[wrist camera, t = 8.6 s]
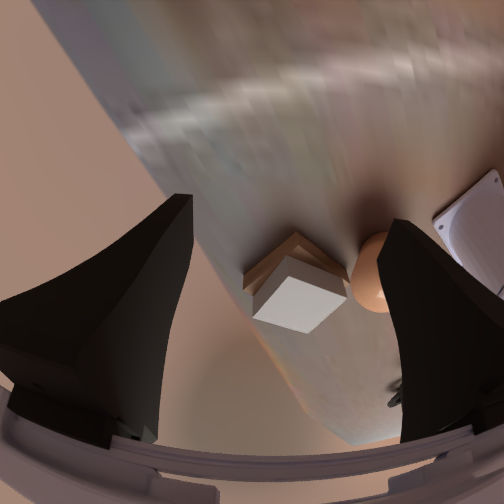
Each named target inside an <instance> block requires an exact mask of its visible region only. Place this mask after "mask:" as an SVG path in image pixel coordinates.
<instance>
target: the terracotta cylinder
mask: <svg viewBox="0 0 504 504" xmlns="http://www.w3.org/2000/svg"><path fill="white" fill-rule="evenodd" d="M388 233H389V232H379V233H377V234H374V235H373V236H371V237H370V238H368V239H367V240H366V241H365V242H364V244H363V245H362V247H361V250H360V253H359V255H358V258H357V261H356V264H355V267H354V270H353V273H352V276H351V290H352V293H353V295H354V297H355V299H356V300H357V301H358V302H359V303H360V304H361V305H362V306H363V307H365V308H366V309H368V310H371V311H374V312H382V313H383V312H389V308H388V305H387V302H386V299H385V296H384V292H383V289H382V286H381V282H380V277H379V273H378V267H377V261H376V260H377V257H378V255H379V253H380V251H381V249H382V246H383V244H384V242H385V240H386V237H387V235H388Z"/></svg>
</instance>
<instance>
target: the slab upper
mask: <svg viewBox="0 0 504 504" xmlns="http://www.w3.org/2000/svg"><path fill="white" fill-rule="evenodd" d="M346 299H347V294H346V290H345V287H344V283H343V279H342V278H341V277H339V276H336V275H334V274H332V273H329V272H327V271H324V270H322V269H319V268H317V267H315V266H312V265H310V264H307V263H305V262H302V261H300V260H297V259H295V258H293V257H290V256H288V255H286V256H285V257H284V259H283V260H282V261H281V262H280V264H279V265H278V266H277V267H276V269H275V270H274V271H273V273H272V274H271V275H270V276H269V278H268V279H267V280H266V281H265V283H264V284H263V285H262V286H261V288H260V289H259V290H258V291H257V293H256V294H255V295H254V296H253V318H255V319H259V320H262V321H265V322H269V323H272V324H275V325H279V326H282V327H286V328H289V329H293V330H296V331H300V332H303V333H307V334H308V333H309V332H310V331H312V330H313V329H314V328H315V327H316V326H317V325H318V324H320V323H321V322H322V321H323V320H324V319H325V318H326V317H327V316H329V315H330V314H331V313H332V312H333V311H334V310H335V309H336V308H337V307H338V306H339V305H341V304H342V303H343V302H344V301H345V300H346Z"/></svg>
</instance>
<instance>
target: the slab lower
mask: <svg viewBox="0 0 504 504" xmlns="http://www.w3.org/2000/svg"><path fill="white" fill-rule="evenodd" d="M286 255H288V256H290V257H293V258H295V259H297V260H300V261H302V262H305V263H307V264H310V265H312V266H315V267H317V268H319V269H322V270H324V271H327V272H329V273H332V274H334V275H336V276H339V277H341V278H342V279H343V283H344V287H347V286H348V285H350V281H349V278H348V274H347V271H346V270H345V269H344V268H343V267H342V266H340V265H339V264H338V263H336V262H335V261H334V260H333V259H331V258H330V257H329V256H328V255H326V254H325V253H324V252H323V251H321V250H320V249H319V248H317V247H316V246H315V245H314V244H312V243H311V242H310V241H308V240H307V239H306V238H304V237H303V236H302V235H301V234H299V233H298V232H297V231H296V232H295V233H294V234H292V235H291V236H290V237H289V238H288V239H286V240H285V241H284V242H283V243H282V244H281V245H279V246H278V247H277V248H276V249H275V250H273V251H272V252H271V253H270V254H269V255H268V256H266V257H265V258H264V259H263V260H262V261H260V262H259V263H258V264H257V265H256V266H255V267H253V268H252V269H251V270H250V271H249V272H247V273H246V274H245V275H244V279H243V291H245V292H247V293H248V294H250V295H252V296H254V295H255V294H256V293H257V291H258V290H259V289H260V288H261V286H262V285H263V284H264V283H265V281H266V280H267V279H268V278H269V276H270V275H271V274H272V273H273V271H274V270H275V269H276V267H277V266H278V265H279V264H280V262H281V261H282V260H283V259H284V257H285V256H286Z"/></svg>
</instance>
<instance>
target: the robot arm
mask: <svg viewBox="0 0 504 504" xmlns="http://www.w3.org/2000/svg"><path fill="white" fill-rule="evenodd" d="M495 178H496V179H495ZM440 225H441V226H440ZM433 226H434V227H435V229H436V230H437V232H438V233H439V235H440V236H441V238H442V240H443V241H444V243H445V245H446V246H447V248H448V249H449V251H450V253H451V254H452V256H453V258H454V259H453V258H452V257H451V256H450V255H449V254H448V253H447V252H446V251H444V250H443V249H442V248H441V247H440V246H439V245H438V244H437V243H436V242H435V241H433V240H432V239H431V238H430V237H429V236H428V235H427V234H425V233H424V232H423V231H422V230H421V229H419V228H418V227H417V226H415V225H414V224H413V223H411V222H410V221H408V220H402V219H396V218H395V219H394V221H393V223H392V226H391V228H390V231H389V233H388V235H387V237H386V240H385V242H384V244H383V246H382V249H381V251H380V253H379V255H378V257H377V260H376V261H377V267H378V273H379V277H380V282H381V286H382V289H383V292H384V296H385V299H386V302H387V305H388V308H389V312H390V315H391V318H392V322H393V325H394V328H395V332H396V336H397V340H398V346H399V352H400V360H401V369H402V382H403V417H402V430H401V439H400V444H396V445H391V446H386V447H380V448H374V449H367V450H360V451H352V452H344V453H333V454H320V455H302V456H251V455H232V454H220V453H209V452H201V451H192V450H185V449H178V448H172V447H166V446H161V445H155V444H152V443H154V442H155V441H156V440H157V439H158V420H159V406H160V396H161V387H162V378H163V371H164V364H165V356H166V351H167V344H168V339H169V333H170V328H171V324H172V320H173V317H174V314H175V310H176V307H177V304H178V301H179V297H180V294H181V291H182V288H183V285H184V281H185V278H186V275H187V272H188V269H189V265H190V260H191V254H192V249H193V244H194V236H193V195H190V194H174V195H172V196H171V197H170V198H169V199H168V200H166V201H165V202H164V203H163V204H162V205H160V206H159V207H158V208H157V209H156V210H155V211H153V212H152V213H151V214H150V215H149V216H147V217H146V218H145V219H144V220H143V221H141V222H140V223H139V224H138V225H136V226H135V227H134V228H132V229H131V230H130V231H128V232H127V233H126V234H125V235H123V236H122V237H121V238H120V239H118V240H117V241H115V242H114V243H113V244H111V245H110V246H108V247H107V248H106V249H104V250H102V251H101V252H99V253H98V254H96V255H95V256H93V257H92V258H90V259H88V260H86V261H84V262H83V263H81V264H79V265H78V266H76V267H74V268H73V269H71V270H69V271H67V272H65V273H64V274H62V275H60V276H58V277H56V278H54V279H52V280H50V281H48V282H46V283H43V284H41V285H39V286H37V287H35V288H33V289H30V290H28V291H26V292H23V293H21V294H18V295H16V296H13V297H11V298H8V299H6V300H3V301H1V302H0V371H1V372H2V373H3V374H4V375H5V376H7V377H8V378H9V379H10V380H11V381H12V382H13V383H14V388H13V390H12V392H10V391H9V390H7V389H5V388H4V387H2V386H1V385H0V480H2V481H3V482H4V483H5V484H7V485H8V486H10V487H11V488H12V489H14V490H15V491H17V492H18V493H19V494H21V495H22V496H24V497H25V498H27V499H28V500H30V501H31V502H33V503H35V504H220V503H219V501H220V491H219V490H218V489H217V488H216V487H215V486H212V485H204V484H198V483H191V482H186V481H181V480H175V479H170V478H165V477H162V476H161V474H160V473H158V472H157V471H159V472H164V473H170V474H176V475H182V476H189V477H196V478H205V479H216V480H227V481H244V482H294V481H311V480H322V479H333V478H341V477H349V476H355V475H362V474H368V473H373V472H379V471H384V470H388V469H393V468H397V467H401V466H405V465H409V464H413V463H417V462H420V461H424V460H427V459H431V458H434V457H436V459H435V460H434V462H433V463H430V464H427V465H424V466H422V467H420V468H417V469H415V470H412V471H410V472H407V473H404V474H400V475H397V476H394V477H391V478H389V479H388V486H389V491H388V492H387V493H383V494H379V495H374V496H369V497H364V498H358V499H353V500H346V501H340V502H332V503H325V504H504V188H503V185H502V182H501V179H500V176H499V174H498V172H497V171H496V170H495V169H492V170H491V171H490V172H489V173H487V174H486V175H485V176H484V177H483V178H482V179H481V180H480V181H479V182H477V183H476V184H475V185H474V186H473V187H472V188H471V189H469V190H468V191H467V192H466V193H465V194H464V195H462V196H461V197H460V198H459V199H458V200H456V201H455V202H454V203H453V204H452V205H450V206H449V207H448V208H447V209H446V210H444V211H443V212H442V213H441V214H439V215H438V216H437V217H436V218H435V219H434V220H433ZM439 226H440V227H439ZM437 456H438V457H437Z"/></svg>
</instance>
